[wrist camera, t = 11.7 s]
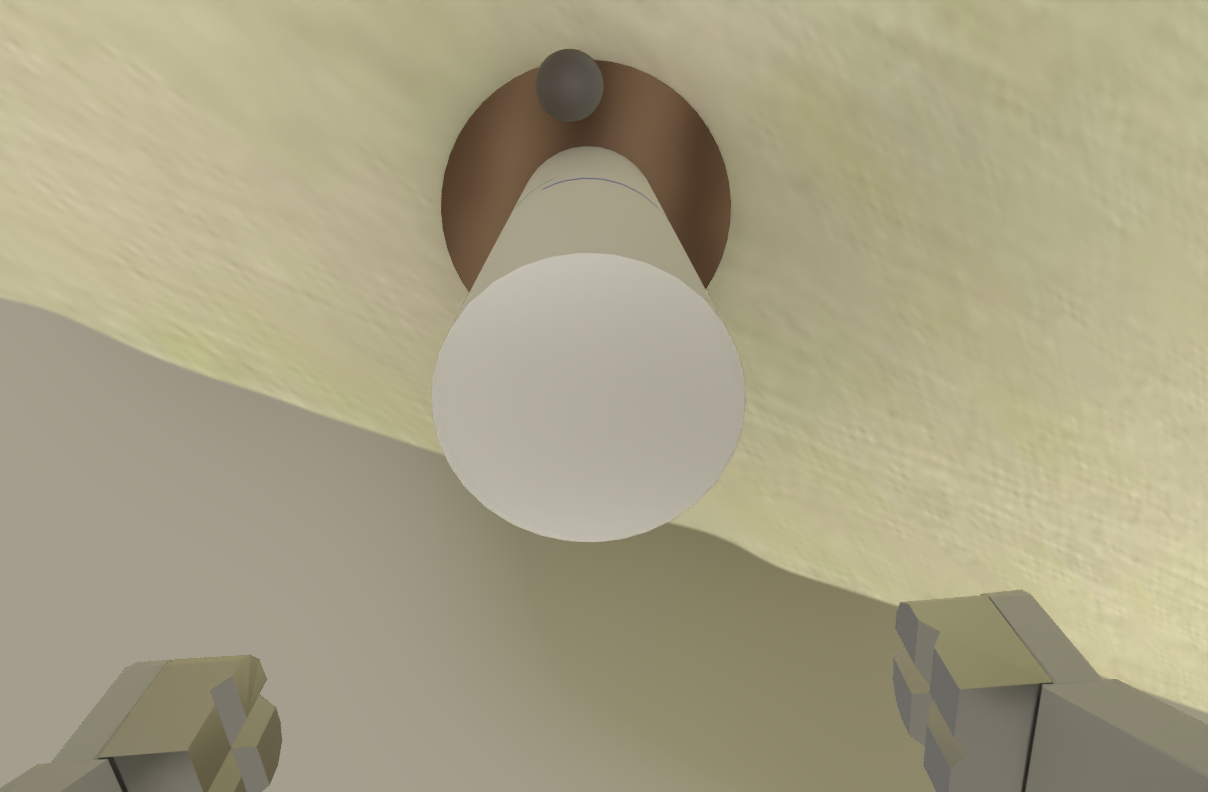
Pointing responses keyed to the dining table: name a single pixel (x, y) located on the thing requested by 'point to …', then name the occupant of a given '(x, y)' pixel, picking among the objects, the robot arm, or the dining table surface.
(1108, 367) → the dining table surface
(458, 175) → the roll holder
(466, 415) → the cylindrical container
